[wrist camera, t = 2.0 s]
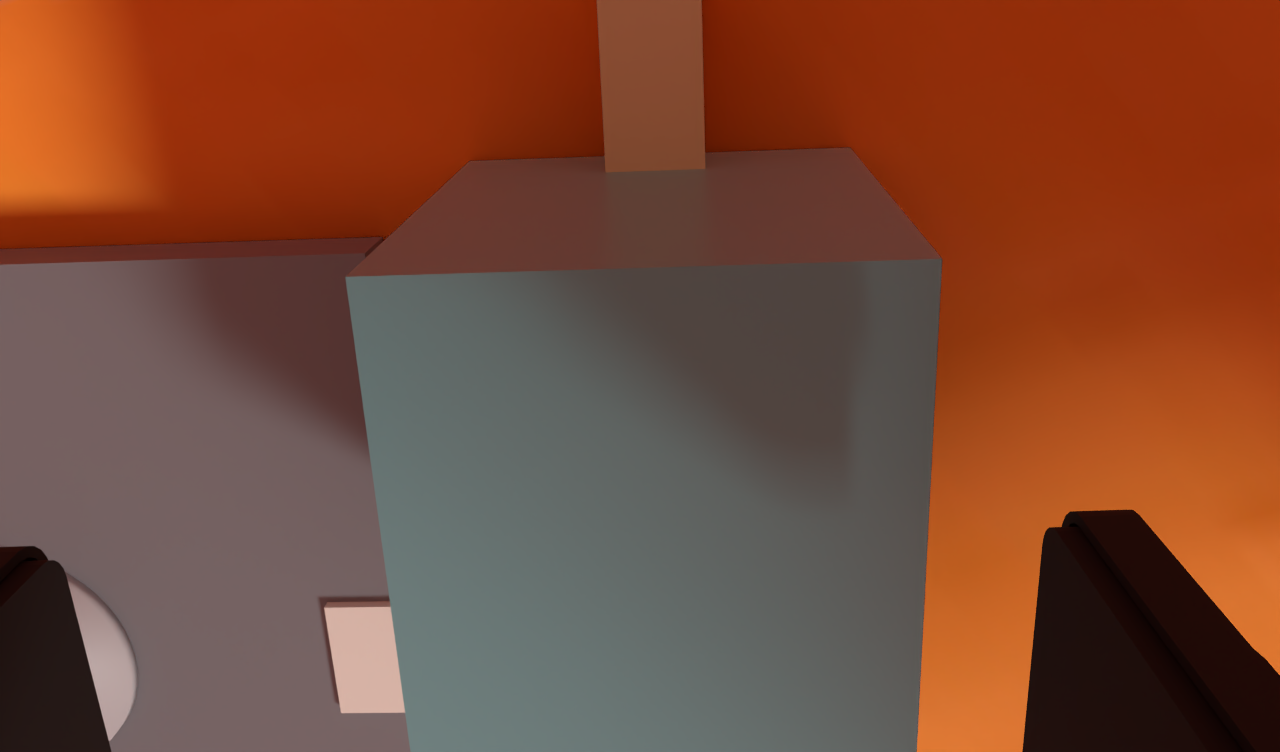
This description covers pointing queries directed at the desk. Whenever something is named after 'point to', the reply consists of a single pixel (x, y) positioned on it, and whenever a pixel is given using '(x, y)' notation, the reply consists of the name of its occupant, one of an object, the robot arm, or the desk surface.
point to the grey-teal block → (654, 436)
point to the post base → (204, 488)
